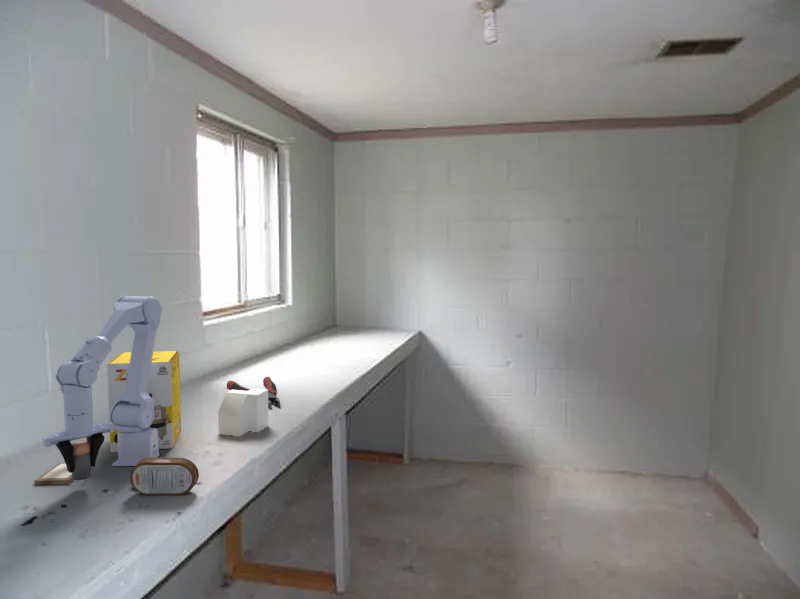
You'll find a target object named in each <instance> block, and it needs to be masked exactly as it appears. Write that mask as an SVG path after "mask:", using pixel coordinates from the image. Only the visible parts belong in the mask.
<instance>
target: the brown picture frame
mask: <svg viewBox="0 0 800 599" xmlns="http://www.w3.org/2000/svg"><path fill="white" fill-rule="evenodd" d="M33 481H34V482H33V483H34V486H35V485H36V486H37V485H38V486H39V485H40V486H42V485H44V486H45V485H70V484H72V482H74V480H73V479H72V473H70V472H69V471H67V466H66V463H65V462H58V463H57V464H55V465H54V466H52V467H51V468H50V469H48V470H47V471H45V472H44V473H43V474H41V475H40V476H39V477H37V478H36V479H34V480H33Z"/></svg>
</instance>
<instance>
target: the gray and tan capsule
mask: <svg viewBox="0 0 800 599" xmlns="http://www.w3.org/2000/svg"><path fill="white" fill-rule="evenodd" d="M71 445H72V446H74V449H73V465H74V472H72V479H73V481H83V480H86V479H89V478H91V477H92V467H91V452H90V442H89V441H87V440H79V441H75V442H73V443H72V442H71Z"/></svg>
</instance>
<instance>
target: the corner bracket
mask: <svg viewBox="0 0 800 599" xmlns="http://www.w3.org/2000/svg"><path fill="white" fill-rule="evenodd" d="M217 416H218V419H217V420H218V424H217V425H218V435H221V434H223V436H229V435H233V436H232V437H238V436H240V437H242V436H243V434H244V433H245V434H247V433H249V432H248V431H252V432H251V433H254V432H258V433H260V432H261V431H260V430H262V429H263V428H265V427H266V428H268V427H269V408H268V390H267V388H266V389H265V388H255V387H254V388H251V390H248V391H243V390H231V389H229V390H228V391H226V392H225V395H224V397H223V400H222V402H221V404H220V406H219V408H218V411H217ZM267 426H268V427H267ZM266 428H265V429H266ZM263 430H264V429H263ZM263 430H262V431H263ZM259 431H260V432H259ZM246 432H247V433H246ZM245 434H244V435H245ZM241 435H242V436H241Z"/></svg>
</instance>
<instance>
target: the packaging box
mask: <svg viewBox="0 0 800 599" xmlns="http://www.w3.org/2000/svg"><path fill="white" fill-rule="evenodd" d="M131 353H132V351H129V352H121V353H120V354H118V355H117V356H116V357H114V358H113V359H111V360H110V361H109V362H108V363H106V366H107V367H106V369H107V370H106V372H107V374H106V375H107V393H108V394H107V395H108V396H107V398H108V414H109V413H110V410H111V408H112V406H113V404H114V401H115V398H116V397H117V396H118V395H119V394H121V393H122V392H123V391H124V390H125V385H126V380H127V374H128V369H129V363H130V358H131ZM180 372H181V370H180V351H179V350H167V351H166V350H163V351H154V352H153V357H152V363H151V369H150V374H149V380H148V386H147V391H146V393H147V394H148V395H149V396H150V397H151V398H152V399H153V400H154V420H153V422H152V423H151V425H150V428H156V429H157V431H158V447H159V450H163V449H174V447H175V444H176V443H177V440H178V438H179V435H180V434H181V431H182V414H181V413H182V412H181V411H182V410H181V409H182V408H181V406H182V405H181V376H180V375H181V374H180ZM130 403H131V404H139V403H138V402H130ZM108 423H110V420H109V421H108ZM109 444H110V445H109V446H110V447H109V448H110V453H118V436H117V430H115V426H114V432H111V433H109Z"/></svg>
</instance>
